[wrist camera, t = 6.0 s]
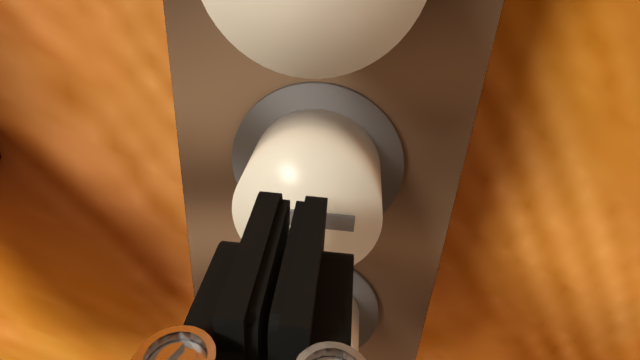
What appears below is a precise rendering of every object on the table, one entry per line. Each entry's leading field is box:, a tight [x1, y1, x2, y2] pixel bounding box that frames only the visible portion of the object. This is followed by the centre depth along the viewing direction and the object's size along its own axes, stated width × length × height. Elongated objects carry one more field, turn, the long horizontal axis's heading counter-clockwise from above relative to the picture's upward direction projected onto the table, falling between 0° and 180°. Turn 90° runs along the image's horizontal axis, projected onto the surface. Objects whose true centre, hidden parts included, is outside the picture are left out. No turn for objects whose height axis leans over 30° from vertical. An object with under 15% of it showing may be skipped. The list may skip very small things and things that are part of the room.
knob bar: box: [163, 0, 504, 360], centre depth 18 cm, size 21×10×5 cm, turn 177°
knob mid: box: [232, 109, 383, 265], centre depth 15 cm, size 4×4×3 cm
